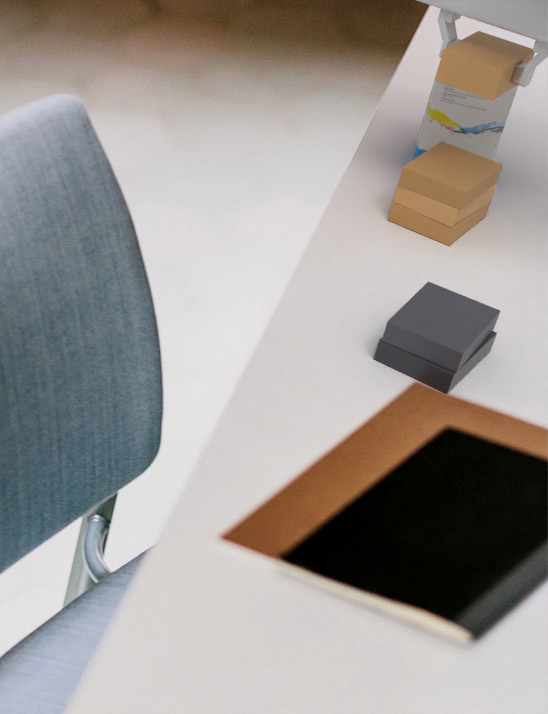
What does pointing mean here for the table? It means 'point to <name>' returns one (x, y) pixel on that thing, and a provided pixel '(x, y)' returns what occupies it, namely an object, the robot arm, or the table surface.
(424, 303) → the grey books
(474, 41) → the tan rectangular block
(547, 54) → the robot arm
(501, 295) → the table surface
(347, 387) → the table surface
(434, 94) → the ink box
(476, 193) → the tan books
